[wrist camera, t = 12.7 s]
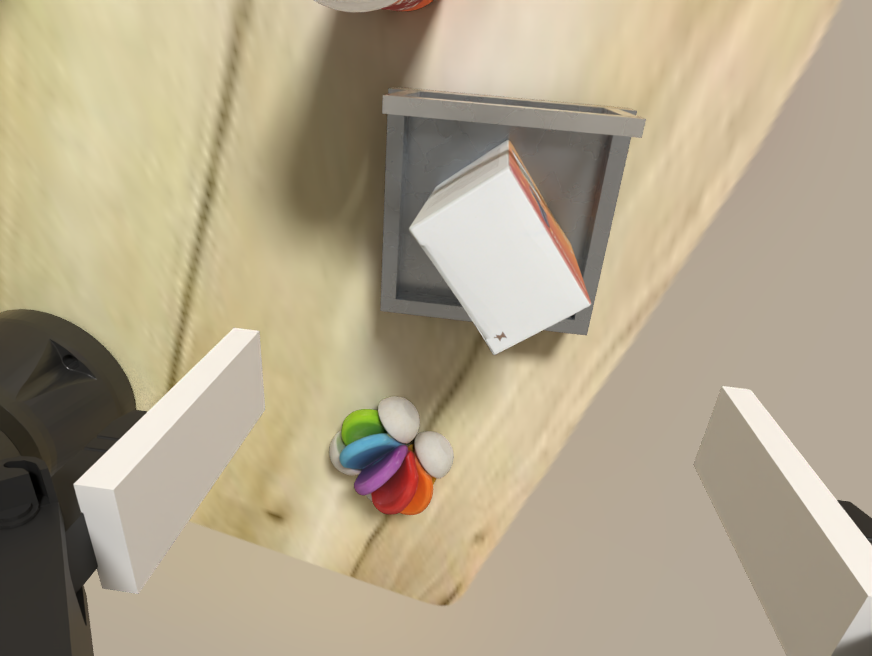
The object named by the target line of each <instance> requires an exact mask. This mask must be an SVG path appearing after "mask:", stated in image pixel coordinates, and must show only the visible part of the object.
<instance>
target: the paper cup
mask: <svg viewBox="0 0 872 656" xmlns="http://www.w3.org/2000/svg"><path fill="white" fill-rule="evenodd" d="M314 1H316V2H318V3H319V4H321V5H324V6H326V7H329V8H332V9H335V10H339V11H346V12H368V11H373V10H378V9H385V10H393V11H412V10H417V9H420V8H422V7H424V6H426V5H428V4H429V3H431V2H432V1H433V0H314Z"/></svg>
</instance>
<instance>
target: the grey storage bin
mask: <svg viewBox="0 0 872 656" xmlns="http://www.w3.org/2000/svg"><path fill="white" fill-rule="evenodd" d="M636 113H637V111H636V110H633V109H630V108H623V107H612V106H601V105H590V104H579V103H568V102H557V101H545V100H534V99H523V98H512V97H501V96H490V95H479V94H467V93H456V92H445V91H434V90H423V89H412V88H401V87H394V88H388V94H386V95H383V106H382V114H388V115H387V143H386V171H385V200H384V228H383V256H382V284H381V311H386V312H394V313H403V314H411V315H419V316H428V317H436V318H445V319H453V320H462V321H470V322H473V321H472V320H471V318H470V317H469V315H468V314H467V312H466V311H465V309H464V308H463V306H462V305H461V303H460V302H459V301H458V299H457V298H456V296H455V295H454V293H453V292H452V290H451V289H450V287H449V286H448V284H447V283H446V282H445V280H444V279H443V277H442V276H441V274H440V273H439V271H438V270H437V268H436V267H435V265H434V264H433V263H432V261H431V260H430V258H429V257H428V256H427V254H426V253H425V251H424V250H423V249H422V247H421V246H420V245H419V243H418V242H417V241H416V239H415V238H414V237H413V236H412V234H411V233H410V231H409V228H410V226H411V224H412V223H413V221H414V220H415V218H416V217H417V215H418V214H419V212H420V210H421V209H422V207H423V206H424V204H425V203H426V201H427V200H428V198H429V197H430V195H431V194H432V192H433V191H434V189H435V187H436V186H438V185H439V184H441V183H442V182H444V181H445V180H447V179H448V178H449V177H451V176H453V175H454V174H456V173H457V172H459V171H460V170H462V169H463V168H465V167H466V166H468V165H469V164H471V163H472V162H474V161H475V160H477V159H478V158H480V157H481V156H483V155H484V154H486V153H487V152H489V151H491V150H492V149H494V148H495V147H497V146H498V145H500V144H501V143H503V142H505V141H506V140H509V141H510V142H511V143H512V145H513V147H514V148H515V150H516V152H517V153H518V155H519V157H520V159H521V160H522V162H523V164H524V166H525V167H526V169H527V171H528V173H529V174H530V176H531V178H532V179H533V181H534V183H535V185H536V187H537V188H538V190H539V192H540V194H541V195H542V197H543V199H544V201H545V202H546V204H547V206H548V208H549V209H550V211H551V213H552V214H553V216H554V218H555V219H556V221H557V223H558V224H559V226H560V228H561V229H562V231H563V232H564V234H565V235H566V237H567V239H568V240H569V242H570V244H571V246H572V249H573V252H574V254H575V258H576V260H577V263H578V266H579V269H580V272H581V275H582V278H583V281H584V284H585V287H586V290H587V293H588V295H589V298H590V300H591V305H590V306H589V307H587V308H585V309H583V310H581V311H579V312H577V313H575V314H574V315H572V316H570V317H568V318H566V319H564V320H562V321H560V322H558V323H556V324H554V325H552V326H550V327H548V328H546V329H544V330H546V331H554V332H563V333H571V334H580V335H587V332H588V327H589V323H590V319H591V314H592V310H593V305H594V301H595V296H596V292H597V287H598V283H599V278H600V274H601V269H602V265H603V260H604V256H605V251H606V247H607V242H608V238H609V234H610V229H611V225H612V220H613V216H614V211H615V207H616V202H617V198H618V193H619V189H620V184H621V180H622V175H623V171H624V166H625V162H626V158H627V153H628V149H629V144H630V140H631V137H639V138H642V134H643V130H644V125H645V121H646V119H644V118H642V117H639V116H636Z"/></svg>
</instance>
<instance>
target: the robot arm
mask: <svg viewBox="0 0 872 656" xmlns="http://www.w3.org/2000/svg"><path fill="white" fill-rule="evenodd" d="M264 411H265V401H264V387H263V373H262V360H261V346H260V332H259V331H256V330H248V329H240V328H233V329H232V330H231V331H230V332H229V333H228V334H227V335H226V336H225V337H224V338H223V339H222V340H221V341H220V342H219V343H218V344H217V345H216V346H215V347H214V348H213V349H212V350H211V351H210V352H209V353H208V354H207V355H205V356H204V357H203V358H202V359H201V360H200V361H199V362H198V363H197V364H196V365H195V366H194V367H193V368H192V369H191V370H190V371H189V372H188V373H187V374H186V375H185V376H184V377H183V378H182V379H181V380H180V381H179V382H178V383H177V384H176V385H175V386H174V387H173V388H172V389H171V390H170V391H169V392H168V393H166V394H165V395H164V396H163V397H162V398H161V399H160V400H159V401H158V402H157V403H156V404H155V405H154V406H153V407H152V408H151V409H150V410H149V411H148V412H147V411H140V410H135V401H134V396H133V392H132V389H131V386H130V384H129V381H128V379H127V377H126V375H125V373H124V372H123V370H122V368H121V367H120V365H119V364H118V362H117V361H116V360H115V358H114V357H113V356H112V355H111V354H110V353H109V351H108V350H107V349H106V348H105V347H104V346H103V345H102V344H101V343H99V342H98V341H97V340H96V339H95V338H94V337H92V336H91V335H90V334H88V333H87V332H86V331H84V330H83V329H81V328H79V327H78V326H76V325H74V324H72V323H71V322H69V321H67V320H64V319H62V318H60V317H57V316H54V315H52V314H48V313H45V312H40V311H35V310H23V309H19V310H9V311H5V312H1V313H0V656H94V653H93V645H92V638H91V629H90V621H89V613H88V604H87V596H86V592H85V589H84V586H83V585H84V584H85V582H86V581H87V580H88V579H89V577H90V576H91V575H92V574H93V572H94V571H95V570H96V569H97V571H98V575H99V578H100V582H101V585H102V588H104V589H110V590H117V591H123V592H130V593H136V594H138V593H139V592H140V590H141V589H142V588H143V586H144V585H145V583H146V582H147V580H148V579H149V577H150V576H151V575H152V573H153V572H154V570H155V569H156V567H157V566H158V564H159V563H160V562H161V560H162V559H163V557H164V556H165V554H166V553H167V551H168V550H169V549H170V547H171V546H172V544H173V543H174V541H175V540H176V538H177V537H178V535H179V534H180V532H181V531H182V530H183V528H184V527H185V525H186V524H187V522H188V521H189V519H190V518H191V517H192V515H193V514H194V512H195V511H196V509H197V508H198V506H199V505H200V503H201V502H202V501H203V499H204V498H205V496H206V495H207V493H208V492H209V490H210V489H211V488H212V486H213V485H214V483H215V482H216V480H217V479H218V477H219V476H220V474H221V473H222V472H223V470H224V469H225V467H226V466H227V464H228V463H229V461H230V460H231V458H232V457H233V456H234V454H235V453H236V451H237V450H238V448H239V447H240V445H241V444H242V443H243V441H244V440H245V438H246V437H247V435H248V434H249V432H250V431H251V429H252V428H253V427H254V425H255V424H256V422H257V421H258V419H259V418H260V416H261V415H262V413H263V412H264ZM694 467H695V469H696V471H697V473H698V475H699V477H700V479H701V481H702V483H703V485H704V487H705V489H706V492H707V494H708V496H709V498H710V500H711V501H712V504H713V506H714V508H715V510H716V512H717V514H718V516H719V518H720V520H721V522H722V524H723V526H724V528H725V530H726V532H727V535H728V537H729V538H730V541H731V543H732V545H733V547H734V548H735V551H736V553H737V555H738V557H739V559H740V561H741V563H742V565H743V567H744V569H745V572H746V574H747V575H748V578H749V580H750V582H751V584H752V586H753V588H754V590H755V592H756V594H757V596H758V598H759V600H760V602H761V604H762V606H763V608H764V610H765V613H766V615H767V617H768V618H769V621H770V622H771V625H772V627H773V629H774V631H775V633H776V635H777V637H778V639H779V641H780V643H781V645H782V647H783V649H784V651H785V653H786V655H787V656H872V518H871V517H869V516H868V515H867V514H865V513H864V512H863V511H861V510H860V509H859V508H857V507H856V506H855V505H853V504H852V503H851V502H848V501H840V500H836V499H835V497H834V496H833V495H832V494H831V492H830V491H829V490H828V489H827V487H826V486H825V485H824V483H823V482H822V481H821V480H820V478H819V477H818V476H817V475H816V473H815V472H814V471H813V470H812V468H811V467H810V465H809V464H808V463H807V462H806V460H805V459H804V458H803V456H802V455H801V454H800V453H799V451H798V450H797V449H796V448H795V446H794V445H793V444H792V442H791V441H790V440H789V438H788V437H787V436H786V435H785V433H784V432H783V431H782V429H781V428H780V427H779V426H778V424H777V423H776V422H775V421H774V419H773V418H772V417H771V415H770V414H769V413H768V411H767V410H766V409H765V408H764V407H763V405H762V404H761V403H760V401H759V400H758V399H757V397H756V396H755V395H754V394H753V392H752V391H751V390H749V389H742V388H733V387H725V386H722V387H721V390H720V393H719V395H718V398H717V401H716V404H715V406H714V410H713V412H712V415H711V417H710V420H709V423H708V426H707V429H706V431H705V434H704V437H703V440H702V442H701V445H700V448H699V451H698V453H697V456H696V459H695V462H694Z"/></svg>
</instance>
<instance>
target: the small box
mask: <svg viewBox="0 0 872 656" xmlns="http://www.w3.org/2000/svg"><path fill="white" fill-rule="evenodd" d="M409 231H410V233H411V234H412V236H413V237H414V238H415V239H416V241H417V242H418V243H419V245H420V246H421V247H422V249H423V250H424V251H425V253H426V254H427V256H428V257H429V258H430V260H431V261H432V263H433V264H434V265H435V267H436V268H437V270H438V271H439V273H440V274H441V276H442V277H443V279H444V280H445V282H446V283H447V284H448V286H449V287H450V289H451V290H452V292H453V293H454V295H455V296H456V298H457V299H458V301H459V302H460V303H461V305H462V306H463V308H464V309H465V311H466V312H467V314H468V315H469V317H470V318H471V320H472V321H473V323H474V324H475V326H476V328H477V329H478V331H479V332H480V334H481V335H482V337H483V339H484V340H485V342H486V344H487V345H488V347H489V349H490V350H491V352H492V354H493V355H496V354H498V353H500V352H502V351H504V350H506V349H507V348H509V347H512V346H514V345H515V344H517V343H519V342H521V341H523V340H525V339H527V338H529V337H531V336H533V335H535V334H537V333H539V332H541V331H543V330H544V329H546V328H548V327H550V326H552V325H554V324H556V323H558V322H560V321H562V320H564V319H566V318H568V317H570V316H572V315H574V314H575V313H577V312H579V311H581V310H583V309H585V308H587V307H589V306H590V305H591V300H590V298H589V295H588V293H587V290H586V287H585V284H584V281H583V278H582V275H581V272H580V269H579V266H578V263H577V260H576V258H575V254H574V252H573V249H572V246H571V244H570V242H569V240H568V239H567V237H566V235H565V234H564V232H563V231H562V229H561V228H560V226H559V224H558V223H557V221H556V219H555V218H554V216H553V214H552V213H551V211H550V209H549V208H548V206H547V204H546V202H545V201H544V199H543V197H542V195H541V194H540V192H539V190H538V188H537V187H536V185H535V183H534V181H533V179H532V178H531V176H530V174H529V173H528V171H527V169H526V167H525V166H524V164H523V162H522V160H521V159H520V157H519V155H518V153H517V152H516V150H515V148H514V147H513V145H512V143H511V142H510V141H509V140H506V141H505V142H503V143H501V144H500V145H498V146H497V147H495V148H494V149H492V150H491V151H489V152H487V153H486V154H484V155H483V156H481V157H480V158H478V159H477V160H475V161H474V162H472V163H471V164H469V165H468V166H466V167H465V168H463V169H462V170H460V171H459V172H457V173H456V174H454V175H453V176H451V177H449V178H448V179H447V180H445V181H444V182H442V183H441V184H439V185H438V186H436V187H435V189H434V191H433V192H432V194H431V195H430V197H429V198H428V200H427V201H426V203H425V204H424V206H423V207H422V209H421V210H420V212H419V214H418V215H417V217H416V218H415V220H414V221H413V223H412V224H411V226H410V228H409Z"/></svg>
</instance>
